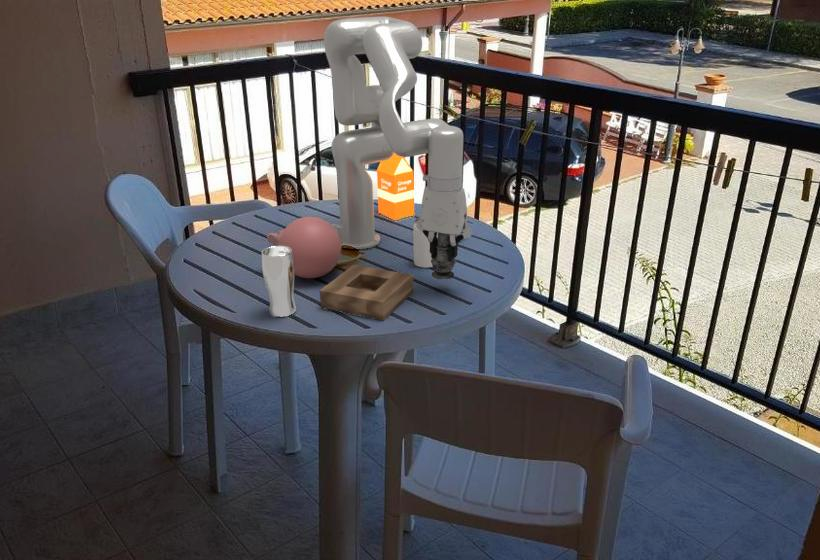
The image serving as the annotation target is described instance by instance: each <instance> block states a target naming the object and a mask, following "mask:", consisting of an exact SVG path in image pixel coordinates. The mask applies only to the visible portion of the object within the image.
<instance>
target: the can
mask: <svg viewBox="0 0 820 560" xmlns="http://www.w3.org/2000/svg"><path fill="white" fill-rule="evenodd" d="M419 220H420V217H417V218H416V219H414V224H413V227H412V230H413V231H412V232H413V234H412V235H413V238H412V239H413V264H414V265H415V266H416V267H418V268H421V269H431V268H433V266H432V263H431V259H432V258H431V253H430V242H429V241H428V238H427V237H426V236H425V235H424V233H423V232H422V231H421V230H419V229H418V228H417V227H416V224H417V223H418V222H419ZM437 238H438V233H437Z"/></svg>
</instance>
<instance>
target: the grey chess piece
mask: <svg viewBox="0 0 820 560" xmlns="http://www.w3.org/2000/svg"><path fill="white" fill-rule="evenodd" d="M449 245H450V235H448V234H442V233H438V244H437V245H436V247H437V256H436V257H435V258H432V259H431V263H432V266H433V267H432V268H433V269H434V270H433V272H432V273H431V276H432V277H433V278H434V279H437V280H451V279H452V278H454V276H455V272H453V269H454V266H455V264H456V259H455V258H454V259H453V260H452V261H451V262H450V261H448V247H449Z"/></svg>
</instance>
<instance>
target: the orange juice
mask: <svg viewBox="0 0 820 560" xmlns="http://www.w3.org/2000/svg"><path fill="white" fill-rule="evenodd" d="M414 173H415V172H414V170H413V169H412V167H411V166H410V164H409V163H408V160H407V159H406V157H400V156H398V155H396V154H395V153H394V154H393V156H392V157H391V158H390V159H388V160H386V161H381V162H379V164H378V167H377V169H376V176H377V177H376V178H377V179H376V181H377V187H376V188H377V203H378V208H377V209H378V214H379V213H381V214H383V215H385V216H387V217H389V218H391V219H393V220H398V219H401V218H404V217H408V216H413V215H414V216H415V185H414V184H415V183H414V182H415V179H414ZM414 216H413V217H414ZM393 220H392V221H393Z"/></svg>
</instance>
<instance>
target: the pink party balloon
mask: <svg viewBox="0 0 820 560" xmlns="http://www.w3.org/2000/svg"><path fill="white" fill-rule="evenodd" d="M331 224H332V223H330V222H328V221H327V220H325V219H323V218H320V217H316V216H304V217H300V218H297V219H295V220H293V221H292V222H290V223H289V224H288V225H287V226H285V228H284V229H280V230H278V231H276V232H270V233H267V234H266V238H267V241H268V243H269V244H272V246H287V247H290V248H291V249H292V255H293V260H294V267H295V276H298V277H300V278H302V279H317V278H321V277H323V276H326V275H327V274H329V272H331V271H332V270H333V269H334V268H335V267H336V266H337V264H338V262H339V259H340V257H341V253H342V247H341V241H340V238H339V235H338V233H337V231H336V230H335V229H334V227H333V226H332V225H331Z"/></svg>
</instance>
